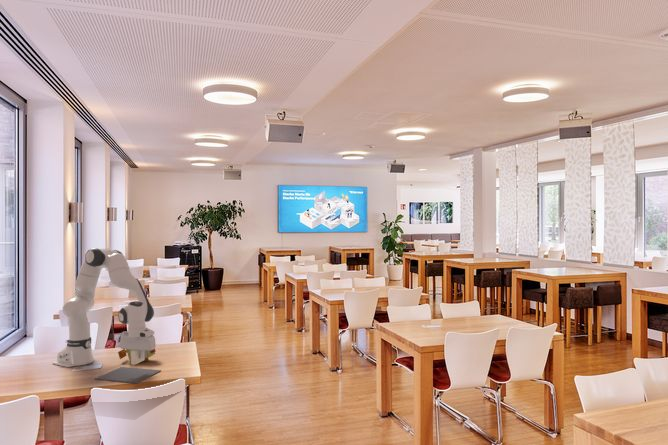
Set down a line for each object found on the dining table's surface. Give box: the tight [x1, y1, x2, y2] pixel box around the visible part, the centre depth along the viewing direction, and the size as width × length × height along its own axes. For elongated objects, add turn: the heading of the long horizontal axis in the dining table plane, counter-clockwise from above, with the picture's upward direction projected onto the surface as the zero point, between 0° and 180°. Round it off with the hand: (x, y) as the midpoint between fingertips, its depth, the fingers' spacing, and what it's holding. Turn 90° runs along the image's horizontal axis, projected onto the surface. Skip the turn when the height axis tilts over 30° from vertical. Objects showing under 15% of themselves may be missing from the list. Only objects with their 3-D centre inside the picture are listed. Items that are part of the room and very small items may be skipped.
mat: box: [94, 366, 162, 384], centre depth 262 cm, size 26×20×1 cm
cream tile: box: [130, 350, 145, 365], centre depth 263 cm, size 2×8×7 cm, turn 165°
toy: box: [117, 348, 157, 364], centre depth 287 cm, size 9×12×20 cm
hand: (137, 357), depth 263 cm, fingers closed on cream tile, 2 cm apart
